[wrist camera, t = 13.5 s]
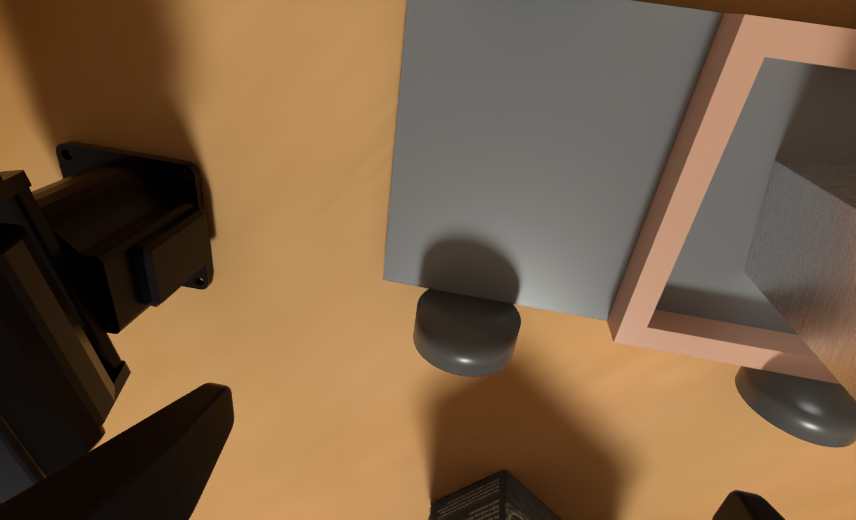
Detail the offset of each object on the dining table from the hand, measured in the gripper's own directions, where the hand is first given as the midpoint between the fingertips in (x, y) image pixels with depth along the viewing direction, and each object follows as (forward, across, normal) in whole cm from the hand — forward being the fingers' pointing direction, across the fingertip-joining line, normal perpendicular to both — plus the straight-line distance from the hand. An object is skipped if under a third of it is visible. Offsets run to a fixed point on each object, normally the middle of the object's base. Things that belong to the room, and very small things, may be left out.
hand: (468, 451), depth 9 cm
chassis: (+13, -7, -2) cm, 15 cm away
